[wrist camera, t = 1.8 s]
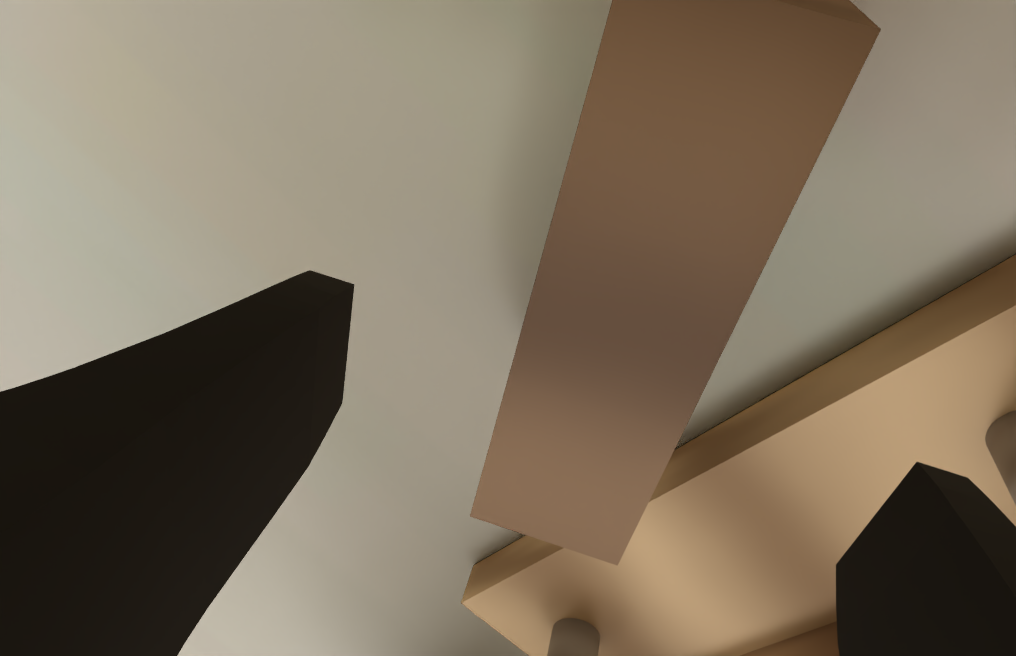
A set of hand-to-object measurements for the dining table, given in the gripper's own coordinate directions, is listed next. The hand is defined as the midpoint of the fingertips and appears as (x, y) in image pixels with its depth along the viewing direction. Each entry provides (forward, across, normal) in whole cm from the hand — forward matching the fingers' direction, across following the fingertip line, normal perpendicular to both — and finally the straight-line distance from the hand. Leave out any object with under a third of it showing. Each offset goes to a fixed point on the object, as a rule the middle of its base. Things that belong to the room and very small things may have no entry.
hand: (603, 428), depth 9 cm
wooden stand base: (+8, -6, +8) cm, 13 cm away
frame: (+8, 0, 0) cm, 8 cm away
